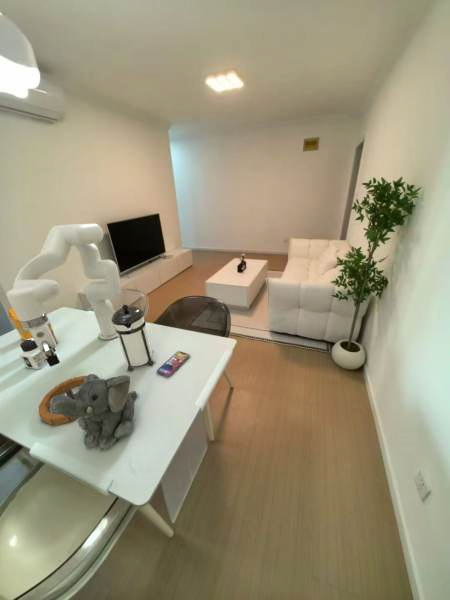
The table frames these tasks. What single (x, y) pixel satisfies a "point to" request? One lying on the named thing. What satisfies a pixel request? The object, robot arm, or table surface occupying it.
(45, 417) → the orange-brown ring
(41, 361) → the container
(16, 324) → the orange juice
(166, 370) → the smartphone
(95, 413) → the stuffed elephant
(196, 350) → the table surface
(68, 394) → the spindle
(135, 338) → the coffee press
